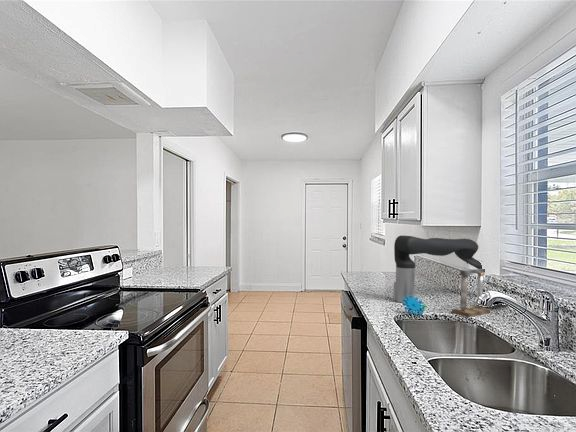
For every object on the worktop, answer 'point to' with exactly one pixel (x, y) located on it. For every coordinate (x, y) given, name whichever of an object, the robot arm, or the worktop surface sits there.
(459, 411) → the worktop surface
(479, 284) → the clear glass tube
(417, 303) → the gear
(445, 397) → the worktop surface
